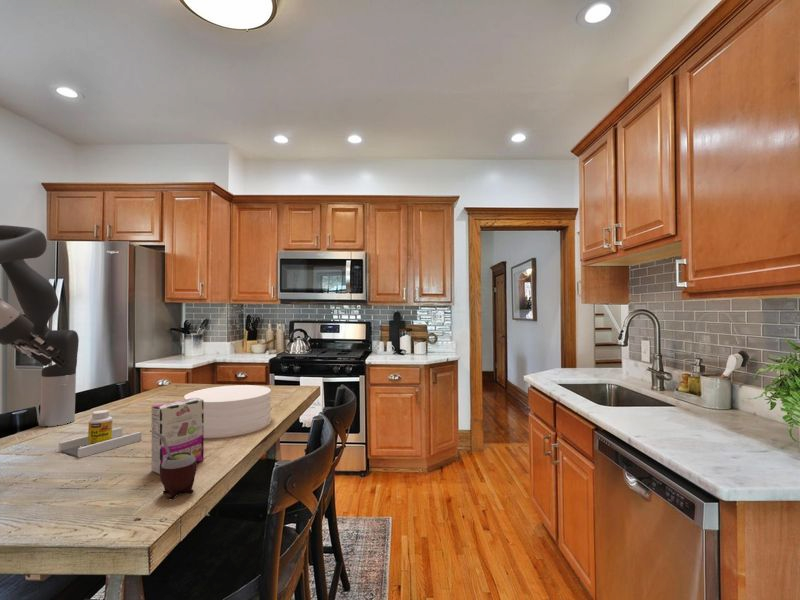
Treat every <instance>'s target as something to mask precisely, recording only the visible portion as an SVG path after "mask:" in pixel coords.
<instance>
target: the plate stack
mask: <svg viewBox="0 0 800 600" xmlns="http://www.w3.org/2000/svg"><path fill="white" fill-rule="evenodd" d="M271 393H272V391H271V388H269V387H267V386H263V385H252V384H251V385H250V384H241V385H238V384H236V385H223V386H222V385H221V386H214V387H213V386H212V387H207V388H202V389H198V390H194V391H191V392H188V393H185V395H184V396H183V400H186V399H191V398H199V399H203V400H204V428H203V430H204V439H213V438H214V439H216V438H217V439H218V438H229V437H235V436H241V435H242V436H243V435H245V434H246V435H247V434H250V433H253V432H257V431H259V430H262V429H264V428H266V427H268V425H270V423H271V415H272V414H271V408H272V404H271V401H272V399H271V398H272V397H271Z"/></svg>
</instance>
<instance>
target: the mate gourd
mask: <svg viewBox="0 0 800 600" xmlns="http://www.w3.org/2000/svg"><path fill="white" fill-rule="evenodd" d="M149 432H150V433H151V434H152V433H154V434H155V435H157V436H159V437H160V438H161V441H162V443H163V444H164V446H165V449H166V451H167V454H168V456H167V457H166V458H165V459H164V461H163V462H162V465H161V469H160V475H159V478H160V481H161V484H162V485H163V489H164V490H163V491H162V493H163V494H164V495H169V497H168V500H169V499H172V500H174V499H175V498H176V497H177V496H178V495H180V494H179V493H187V494H193V493H194V489H193V486H194V483H195V476H196V473H197V468H198V464H197V463H198V462H196V458H195V457H194V455H193V454H192V453H190V452H179V453H174V454H171V453H170V451H169V448H168V446H167V443H166V439H165V437H163V436H162V435H161V434H160V433H157V432H154V431H152V429H151V430H149ZM192 492H193V493H192ZM176 495H177V496H176ZM175 496H176V497H175ZM174 497H175V498H174Z"/></svg>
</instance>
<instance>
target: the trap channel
mask: <svg viewBox="0 0 800 600" xmlns="http://www.w3.org/2000/svg"><path fill="white" fill-rule="evenodd" d="M118 436H119V437H118ZM140 440H141V441H142V431H137V432H133V433H128V434H126V435H123V427H121V426H119V427H116V428H112V439H110V440H106V441H103V442H99V443H95V444H92V445H88V435H84V436H80V437H76V438H72V439H69V440H64V441H61V442H58V452H59V453H62V454H65V453H66V455H68V454H69V455H68V456H71V455H72V456H71V457H74V456H76V457H75V458H78V457H79V458H78V459H82V458H85V457H84V456H86V457H89V456H91V455H92V454H93V455H95V453H96V454H99V453H103V452H105V451H106V452H107V451H109V450H112V449H116V448H119V447H124V446H126V444H127V445H131V444H134V443H137V442H140ZM133 442H134V443H133ZM84 445H86V446H84ZM123 445H124V446H123ZM80 446H82V447H80ZM88 455H89V456H88ZM81 457H82V458H81Z"/></svg>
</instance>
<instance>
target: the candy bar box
mask: <svg viewBox="0 0 800 600" xmlns="http://www.w3.org/2000/svg"><path fill="white" fill-rule="evenodd" d="M203 428H204V400H203V399H199V398H191V399H186V400H184V399H182V400H177V401H171V402H167V403H162V404H157V405H153V406H151V430H152V431H154V432H157V433H160V434H161V435H162V436H163V437H165V439H166V443H167V446H168V448H169V451H170V453H171V454H174V453H179V452H190V453H192V454H193V455H194V457H195V458H196V462H197V463H199V462H202V461H204V455H205V454H204V448H205V447H204V441H205V438H204V430H203ZM167 456H168V454H167V451H166V449H165V446H164V444H163V443H162V441H161V438H160V437H159V436H157V435H155V434H154V433H152V432H151V472H153V473H155V474H156V475H159V476H160V469H161V465H162V462H163V461H164V459H165V458H166V457H167Z"/></svg>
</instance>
